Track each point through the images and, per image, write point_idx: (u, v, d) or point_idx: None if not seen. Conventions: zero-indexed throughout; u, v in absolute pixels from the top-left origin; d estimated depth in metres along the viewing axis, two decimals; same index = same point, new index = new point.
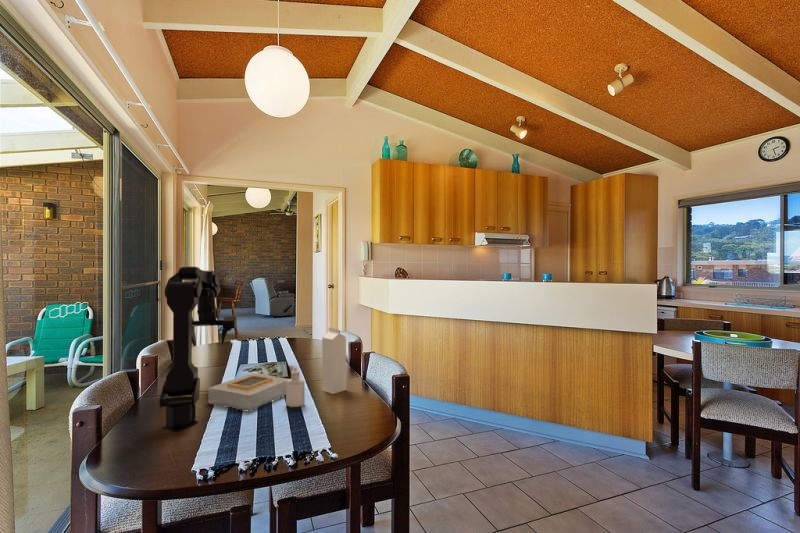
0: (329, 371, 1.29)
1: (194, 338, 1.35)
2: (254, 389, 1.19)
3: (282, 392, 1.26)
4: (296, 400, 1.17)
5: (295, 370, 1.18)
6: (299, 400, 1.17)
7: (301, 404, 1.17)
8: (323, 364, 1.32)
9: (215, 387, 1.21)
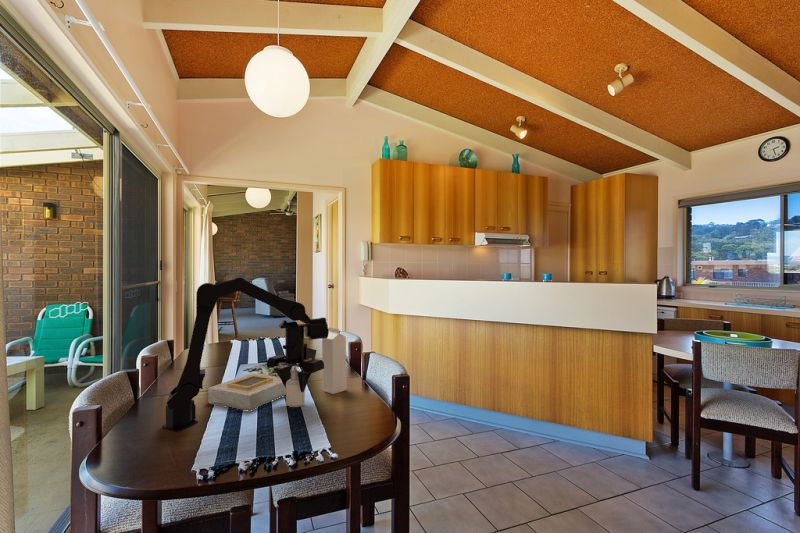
0: (329, 371, 1.29)
1: (286, 380, 1.19)
2: (254, 389, 1.19)
3: (282, 392, 1.26)
4: (296, 400, 1.17)
5: (295, 370, 1.18)
6: (299, 400, 1.17)
7: (301, 404, 1.17)
8: None
9: (215, 387, 1.21)
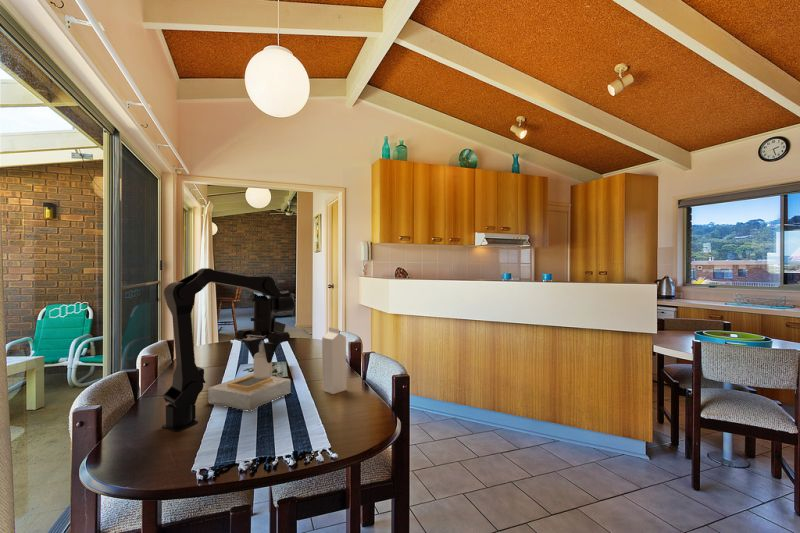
0: (329, 371, 1.29)
1: (255, 351, 1.24)
2: (254, 389, 1.19)
3: (282, 392, 1.26)
4: (263, 372, 1.21)
5: (263, 343, 1.23)
6: (266, 372, 1.22)
7: (268, 376, 1.22)
8: (323, 364, 1.32)
9: (215, 387, 1.21)
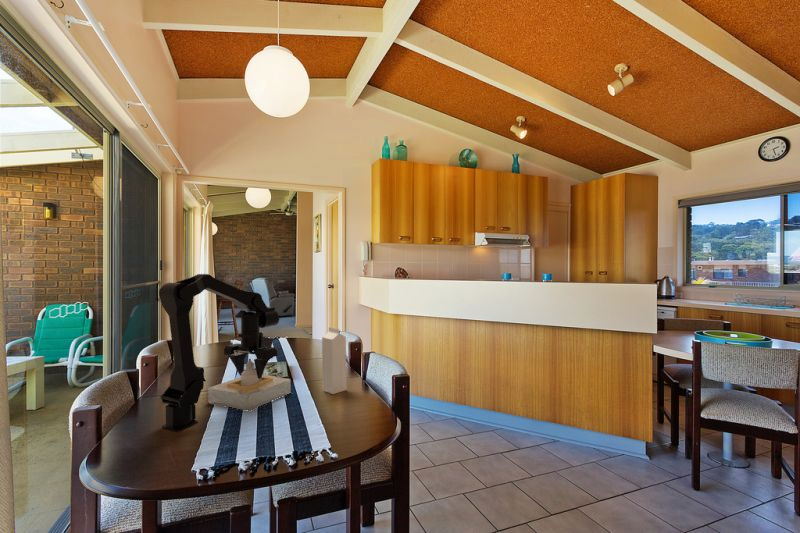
0: (329, 371, 1.29)
1: (240, 366, 1.27)
2: (254, 389, 1.19)
3: (282, 392, 1.26)
4: None
5: (250, 361, 1.25)
6: None
7: None
8: (323, 364, 1.32)
9: (215, 387, 1.21)
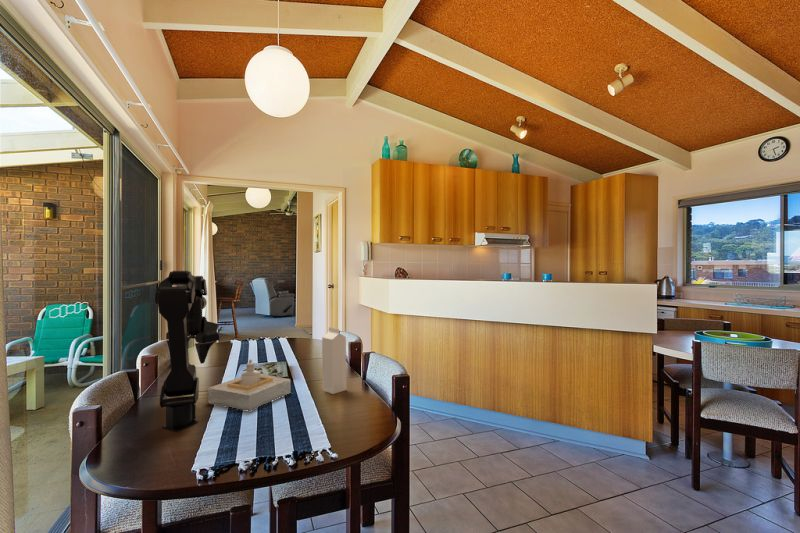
0: (329, 371, 1.29)
1: None
2: (254, 389, 1.19)
3: (282, 392, 1.26)
4: None
5: (250, 362, 1.25)
6: None
7: None
8: (323, 364, 1.32)
9: (215, 387, 1.21)
